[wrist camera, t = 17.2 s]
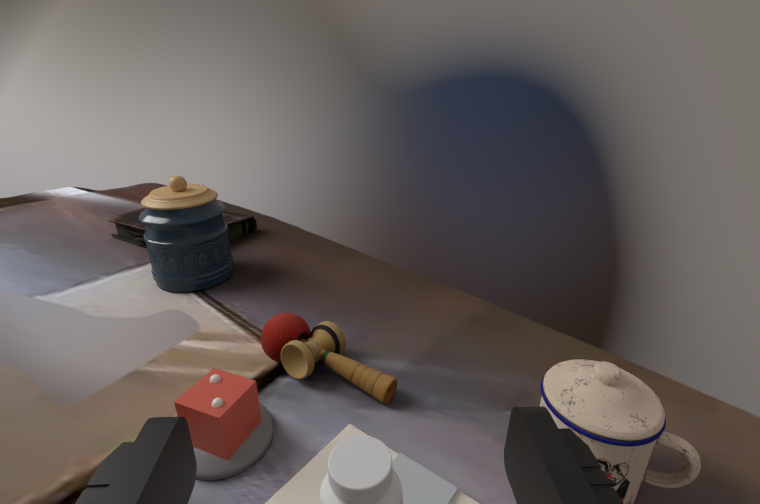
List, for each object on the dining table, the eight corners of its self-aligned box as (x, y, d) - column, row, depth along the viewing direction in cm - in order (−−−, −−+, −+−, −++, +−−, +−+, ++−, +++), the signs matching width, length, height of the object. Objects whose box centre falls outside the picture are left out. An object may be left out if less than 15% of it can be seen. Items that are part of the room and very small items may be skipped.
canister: (138, 280, 72) (112, 178, 65) (205, 255, 82) (188, 164, 75) (184, 302, 65) (160, 191, 58) (250, 271, 75) (236, 173, 68)
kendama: (407, 385, 50) (292, 324, 58) (411, 349, 47) (287, 290, 54) (372, 437, 45) (250, 363, 52) (373, 401, 41) (241, 327, 49)
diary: (184, 217, 105) (180, 197, 103) (258, 235, 94) (255, 213, 92) (108, 240, 90) (102, 218, 88) (185, 265, 79) (181, 240, 77)
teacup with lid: (515, 487, 36) (534, 380, 32) (540, 419, 44) (559, 323, 39) (680, 567, 31) (734, 450, 26) (678, 474, 38) (720, 368, 33)
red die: (232, 495, 36) (220, 438, 33) (153, 461, 39) (137, 406, 36) (291, 419, 43) (285, 369, 41) (221, 396, 47) (211, 347, 44)
